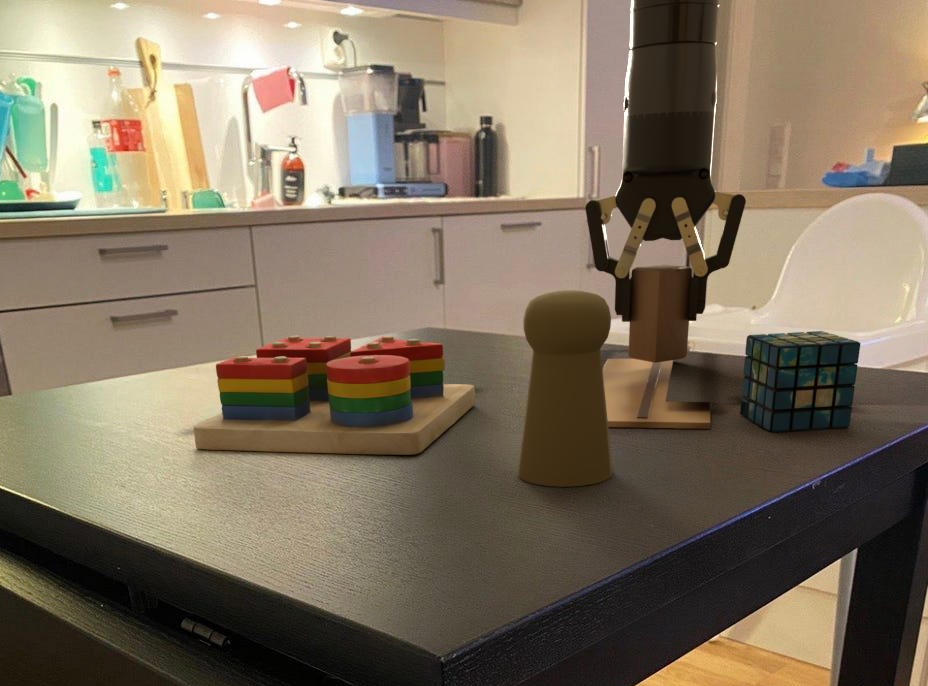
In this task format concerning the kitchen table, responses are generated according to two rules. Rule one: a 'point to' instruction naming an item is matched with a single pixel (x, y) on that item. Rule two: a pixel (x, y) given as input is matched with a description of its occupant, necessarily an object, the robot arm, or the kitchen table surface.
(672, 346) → the wooden block
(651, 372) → the tan wooden flat board
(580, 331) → the pepper shaker
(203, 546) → the kitchen table surface
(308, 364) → the shape sorter
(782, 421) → the puzzle
